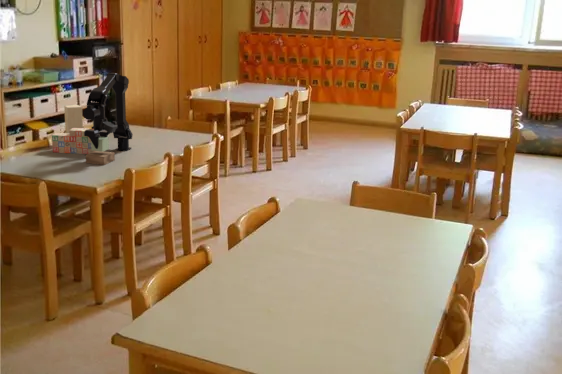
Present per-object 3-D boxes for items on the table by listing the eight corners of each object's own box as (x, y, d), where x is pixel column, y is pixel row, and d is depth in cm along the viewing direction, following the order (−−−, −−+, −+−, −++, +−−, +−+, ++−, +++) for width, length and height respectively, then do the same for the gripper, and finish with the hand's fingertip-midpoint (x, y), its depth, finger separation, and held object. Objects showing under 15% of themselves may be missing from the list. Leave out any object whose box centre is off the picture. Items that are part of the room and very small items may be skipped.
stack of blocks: (52, 152, 312) (51, 129, 308) (56, 149, 318) (55, 126, 314) (94, 154, 313) (93, 131, 310) (97, 151, 319) (96, 128, 316)
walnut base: (96, 158, 306) (96, 150, 305) (114, 160, 304) (114, 152, 303) (86, 162, 297) (85, 154, 296) (104, 165, 294) (104, 157, 293)
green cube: (98, 147, 302) (97, 136, 300) (108, 149, 301) (108, 137, 299) (91, 150, 296) (91, 138, 295) (102, 151, 295) (102, 139, 293)
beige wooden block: (80, 142, 336) (78, 104, 330) (83, 144, 330) (82, 107, 324) (65, 143, 332) (63, 105, 326) (68, 146, 326) (66, 107, 320)
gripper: (103, 121, 283) (105, 153, 288) (123, 114, 300) (124, 145, 305) (82, 118, 286) (84, 150, 290) (103, 112, 303) (104, 142, 308)
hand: (100, 147), depth 298 cm, fingers closed on green cube, 6 cm apart
